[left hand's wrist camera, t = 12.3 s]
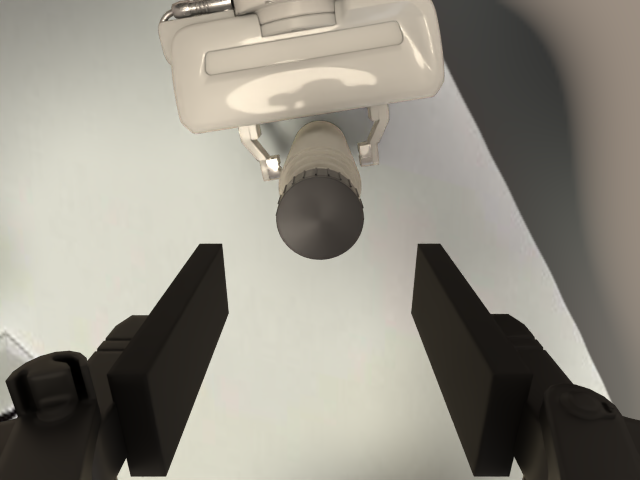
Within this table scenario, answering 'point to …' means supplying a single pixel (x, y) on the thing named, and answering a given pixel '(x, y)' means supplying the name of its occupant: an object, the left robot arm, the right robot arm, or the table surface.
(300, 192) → the cap
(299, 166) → the bottle
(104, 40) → the table surface
